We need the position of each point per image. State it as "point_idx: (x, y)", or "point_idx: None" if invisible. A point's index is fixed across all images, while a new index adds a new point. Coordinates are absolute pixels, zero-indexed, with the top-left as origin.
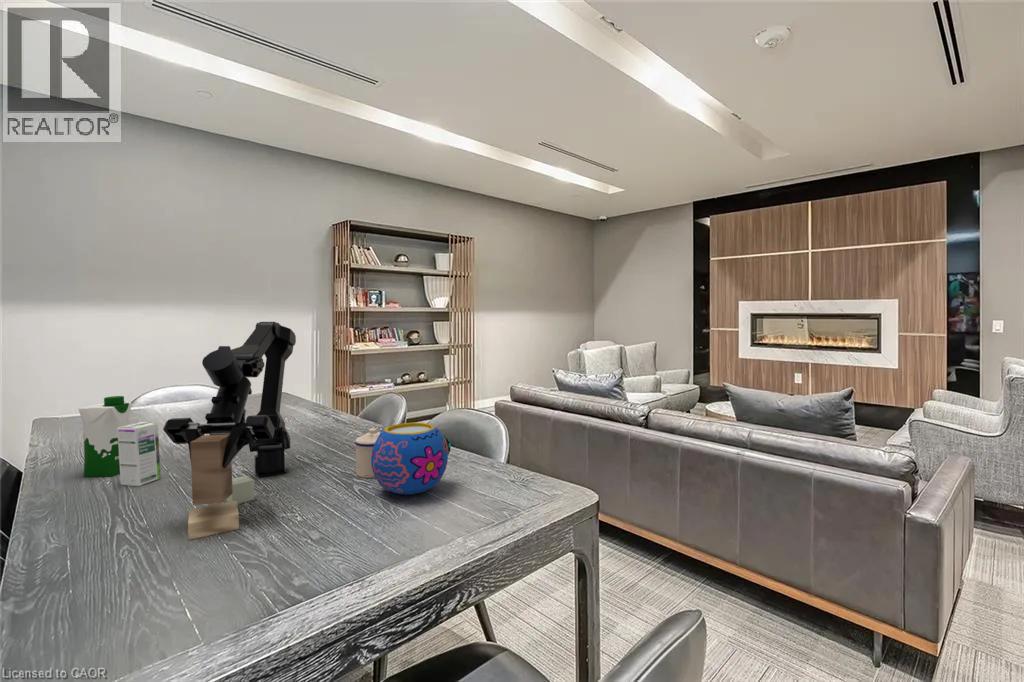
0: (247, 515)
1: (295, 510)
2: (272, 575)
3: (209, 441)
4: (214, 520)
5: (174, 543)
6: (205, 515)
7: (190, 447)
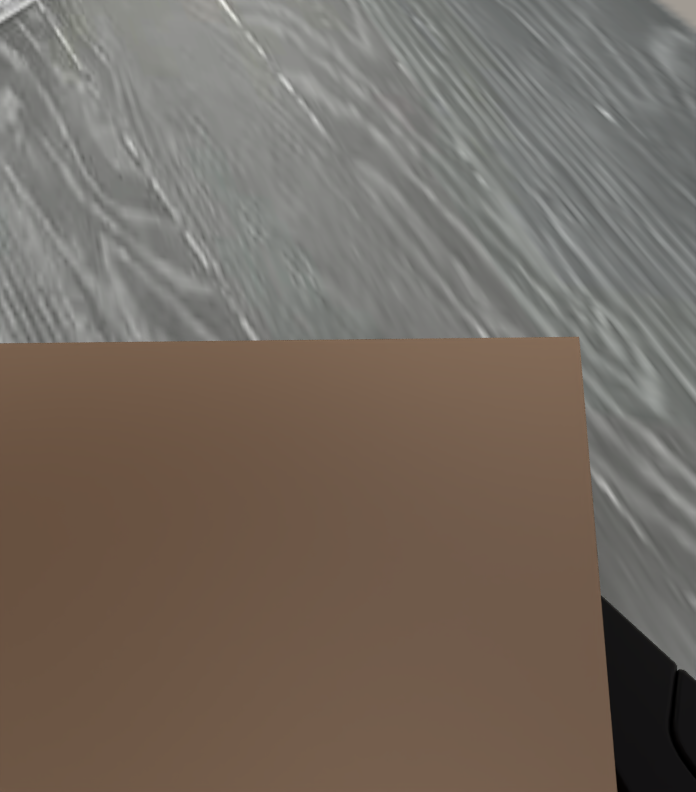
0: None
1: None
2: (70, 135)
3: (64, 346)
4: None
5: None
6: None
7: (671, 688)
